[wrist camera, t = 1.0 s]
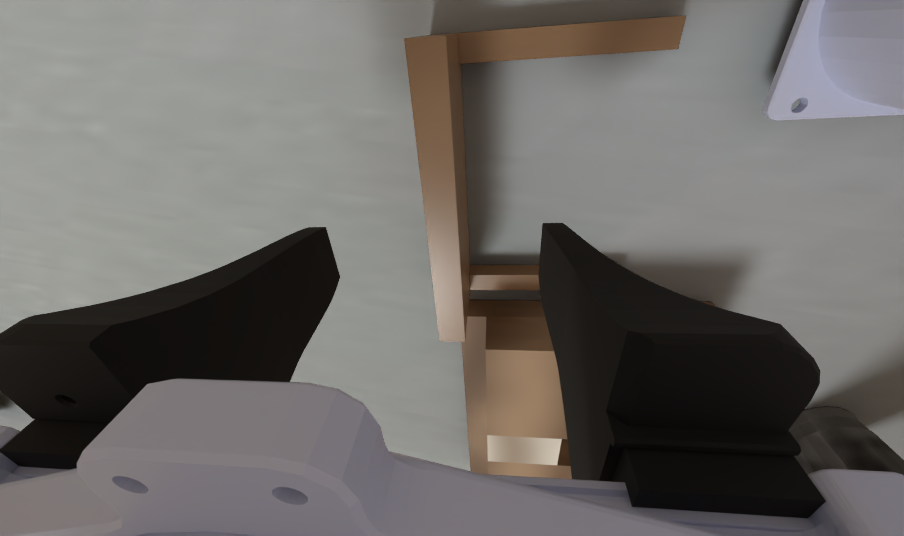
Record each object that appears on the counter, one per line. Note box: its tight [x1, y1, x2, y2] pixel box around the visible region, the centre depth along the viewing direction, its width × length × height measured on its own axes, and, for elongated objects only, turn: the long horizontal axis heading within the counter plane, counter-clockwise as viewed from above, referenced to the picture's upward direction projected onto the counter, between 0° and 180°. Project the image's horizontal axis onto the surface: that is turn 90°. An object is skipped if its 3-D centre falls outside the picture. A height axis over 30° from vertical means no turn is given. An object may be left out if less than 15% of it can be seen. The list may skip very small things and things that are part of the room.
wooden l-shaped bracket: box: [404, 16, 686, 342], centre depth 15 cm, size 9×12×5 cm
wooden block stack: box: [462, 300, 714, 479], centre depth 24 cm, size 14×18×6 cm
